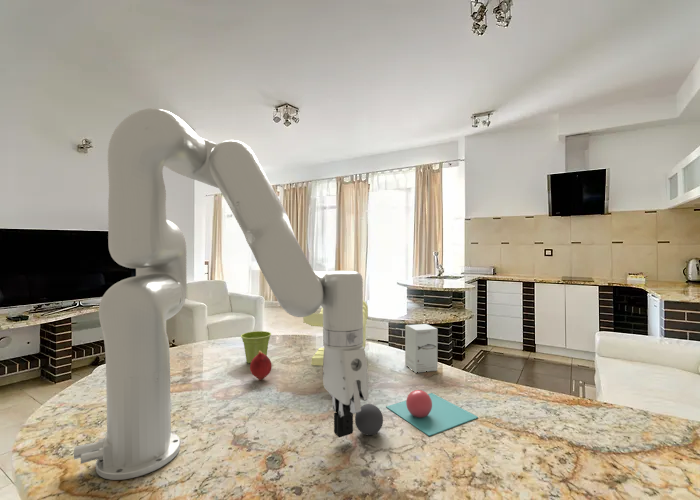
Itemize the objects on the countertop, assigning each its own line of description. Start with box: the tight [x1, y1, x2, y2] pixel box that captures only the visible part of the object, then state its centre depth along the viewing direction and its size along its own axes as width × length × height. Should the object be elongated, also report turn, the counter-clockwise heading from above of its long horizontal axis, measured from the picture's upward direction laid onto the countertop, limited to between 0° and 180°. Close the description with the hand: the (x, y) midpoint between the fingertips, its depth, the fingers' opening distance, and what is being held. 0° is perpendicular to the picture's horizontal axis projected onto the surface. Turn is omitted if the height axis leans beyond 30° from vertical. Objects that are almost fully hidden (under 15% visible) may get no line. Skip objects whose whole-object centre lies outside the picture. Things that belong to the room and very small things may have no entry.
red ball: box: [405, 389, 432, 418], centre depth 74 cm, size 6×6×6 cm
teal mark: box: [385, 392, 479, 437], centre depth 76 cm, size 14×14×1 cm
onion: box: [249, 351, 273, 381], centre depth 95 cm, size 6×6×8 cm
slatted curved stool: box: [302, 299, 369, 367], centre depth 112 cm, size 30×16×18 cm, turn 172°
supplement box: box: [404, 323, 439, 374], centre depth 103 cm, size 7×7×13 cm
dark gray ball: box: [354, 403, 384, 436], centre depth 67 cm, size 6×6×6 cm
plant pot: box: [240, 330, 272, 364], centre depth 110 cm, size 9×9×9 cm
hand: (343, 433), depth 65 cm, fingers closed
